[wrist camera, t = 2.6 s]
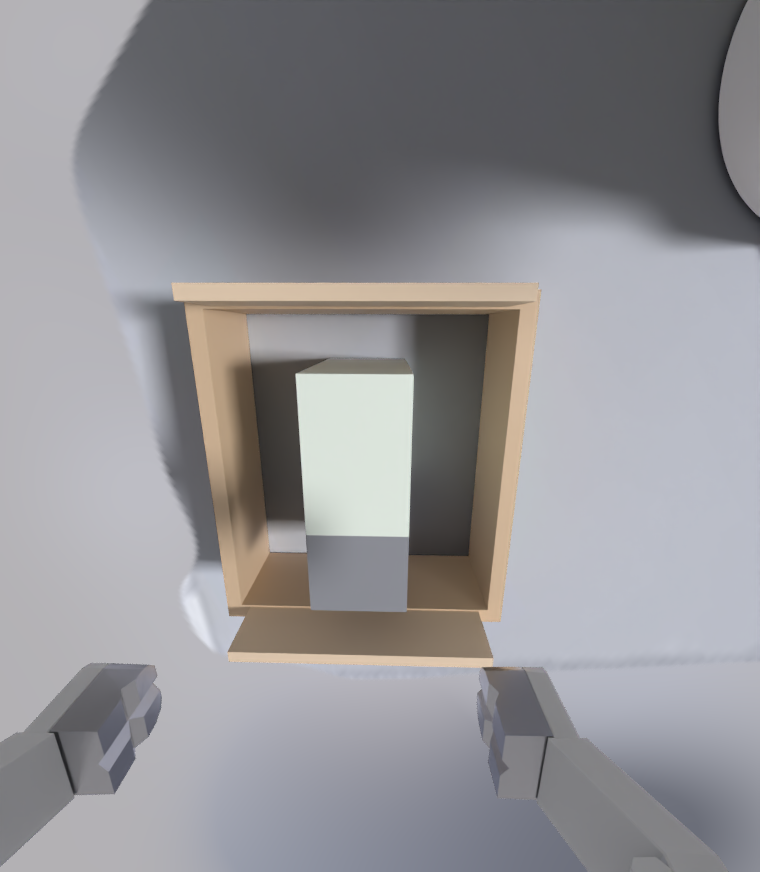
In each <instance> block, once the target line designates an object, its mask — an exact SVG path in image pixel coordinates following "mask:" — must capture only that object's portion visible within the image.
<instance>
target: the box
mask: <svg viewBox="0 0 760 872" xmlns="http://www.w3.org/2000/svg"><path fill="white" fill-rule="evenodd" d="M413 386H414V374H413V372H412V370H411V369H410V367H409V365H408V363H407V362H406V360H405V359H360V358H329V359H327V360H325V361H323V362H320V363H318V364H316V365H314V366H312V367H309V368H307V369H305V370H303V371H301V372H298V373H296V389H297V404H298V420H299V436H300V451H301V467H302V482H303V498H304V513H305V529H306V545H307V560H308V576H309V591H310V607H311V610H328V611H375V612H407V585H408V552H409V519H410V485H411V452H412V419H413Z"/></svg>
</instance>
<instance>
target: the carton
mask: <svg viewBox="0 0 760 872" xmlns="http://www.w3.org/2000/svg"><path fill="white" fill-rule="evenodd" d="M171 284H172V290H173V297H174V301H180V302H184V306H185V313H186V320H187V327H188V334H189V341H190V347H191V354H192V361H193V368H194V375H195V382H196V389H197V396H198V403H199V410H200V417H201V423H202V430H203V437H204V444H205V451H206V458H207V465H208V472H209V479H210V486H211V493H212V499H213V506H214V513H215V520H216V527H217V534H218V541H219V548H220V555H221V562H222V568H223V575H224V582H225V589H226V596H227V603H228V610H229V616H245V618H244V620H243V622H242V624H241V626H240V628H239V630H238V632H237V634H236V636H235V638H234V640H233V642H232V644H231V646H230V648H229V650H228V658H229V662H267V663H308V664H349V665H391V666H432V667H473V668H481V667H492V666H493V655H492V652H491V649H490V646H489V643H488V640H487V637H486V633H485V630H484V627H483V624H482V621H484V622H500V621H501V613H502V604H503V596H504V588H505V580H506V572H507V564H508V556H509V548H510V540H511V531H512V523H513V515H514V507H515V499H516V491H517V483H518V475H519V467H520V458H521V450H522V442H523V434H524V426H525V418H526V410H527V402H528V394H529V385H530V377H531V369H532V361H533V353H534V345H535V337H536V329H537V321H538V312H539V304H540V296H541V290H538V286H539V283H171ZM246 314H489V322H488V334H487V345H486V357H485V369H484V380H483V392H482V404H481V415H480V427H479V438H478V450H477V462H476V473H475V485H474V497H473V508H472V520H471V532H470V543H469V555H468V556H436V555H408V585H407V612H375V611H328V610H311V607H310V591H309V576H308V560H307V553H270V550H269V540H268V530H267V520H266V510H265V499H264V489H263V479H262V469H261V459H260V449H259V439H258V429H257V418H256V408H255V398H254V388H253V378H252V368H251V358H250V348H249V337H248V327H247V317H246Z"/></svg>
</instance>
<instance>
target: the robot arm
mask: <svg viewBox="0 0 760 872" xmlns="http://www.w3.org/2000/svg"><path fill="white" fill-rule="evenodd" d="M719 134H720V142H721V148H722V153H723V157H724V161H725V164H726V167H727V170H728V173H729V175H730V178H731V180H732V182H733V184H734V186H735V188H736V190H737V191H738V193H739V194H740V196H741V197H742V199H743V200H744V201H745V203H746V204H747V205H748V206H749V207H750V209H751V210H752V211H753V212H754V213H756V214H757V215H758V216H759V217H760V0H748V1H747V3H746V5H745V7H744V9H743V12H742V14H741V16H740V19H739V21H738V23H737V26H736V29H735V32H734V34H733V37H732V40H731V43H730V46H729V50H728V53H727V57H726V61H725V65H724V70H723V75H722V80H721V88H720V96H719ZM156 677H157V673H156V669H155V666H154V665H140V664H115V663H111V664H109V663H107V664H106V663H90V664H88V665H87V666H85V667H83V668H82V669H81V670H80V671H79V672H78V673H77V674H76V676H75V677H74V678H73V679H72V680H71V681H70V682H69V683H68V684H67V685H66V686H65V687H64V689H63V690H62V691H61V692H60V693H59V694H58V695H57V696H56V697H55V699H53V700H52V702H51V703H50V704H49V705H48V706H47V707H46V708H45V709H44V710H43V711H42V712H41V713H40V715H39V716H38V717H37V718H36V719H35V720H34V721H33V722H32V723H31V724H30V725H29V727H28V728H27V729H26V730H25V731H24V732H22V733H15V734H13V735H12V736H10V737H8V738H7V739H5V740H4V741H2V742H0V867H1V866H2V865H3V864H4V863H5V862H6V861H7V860H8V859H9V858H10V857H11V856H12V855H14V854H15V853H16V852H17V851H18V850H19V849H20V848H21V847H22V846H23V845H24V844H25V843H26V842H28V841H29V840H30V839H31V838H32V837H33V836H34V835H35V834H36V833H37V832H38V831H39V830H40V829H41V828H43V827H44V826H45V825H46V824H47V823H48V822H49V821H50V820H51V819H52V818H53V817H54V816H55V815H57V814H58V813H59V812H60V811H61V810H62V809H63V808H64V807H65V806H66V805H67V804H68V803H69V802H71V800H73V799H74V795H94V794H95V795H97V794H115V792H116V791H117V789H118V787H119V786H120V784H121V782H122V781H123V779H124V777H125V776H126V774H127V772H128V770H129V769H130V767H131V765H132V764H133V762H134V760H135V748H136V747H137V746H138V745H139V744H140V743H141V742H143V741H144V740H145V739H146V738H148V737H149V735H150V733H151V731H152V729H153V728H154V726H155V724H156V722H157V719H158V716H159V713H160V710H161V701H162V696H161V691H160V689H159V688H157V686H155V685H154V684H153V682H154V681H155V679H156ZM479 681H480V684H481V688H482V689H481V690H480V691H479V692H478V694H477V714H478V721H479V727H480V732H481V736H482V740H483V741H484V743H485V744H486V745H487V746H488V747H489V748H490V749H489V759H488V764H489V768H490V772H491V775H492V780H493V783H494V787H495V791H496V795H497V798H506V799H527V800H537V804H538V805H539V806H540V808H541V809H542V810H543V812H544V813H545V814H546V815H547V817H548V818H549V820H550V821H551V822H552V824H553V825H554V826H555V828H556V829H557V830H558V832H559V833H560V834H561V836H562V837H563V838H564V840H565V841H566V842H567V844H568V845H569V846H570V848H571V849H572V851H573V852H574V853H575V855H576V856H577V857H578V858H579V860H580V861H581V862H582V864H583V865H584V867H585V868H586V869H587V871H588V872H728V870H727V869H726V867H725V866H724V864H723V863H722V861H721V860H720V858H719V857H718V855H717V854H715V853H714V852H713V851H712V850H711V849H710V848H709V847H708V846H707V845H706V844H704V843H703V842H702V841H701V840H700V839H699V838H698V837H697V836H695V835H694V834H693V833H692V832H691V831H690V830H689V829H688V828H687V827H685V826H684V825H683V824H682V823H681V822H680V821H679V820H678V819H676V818H675V817H674V816H673V815H672V814H671V813H670V812H669V811H667V810H666V809H665V808H664V807H663V806H662V805H661V804H660V803H658V802H657V801H656V800H655V799H654V798H653V797H652V796H651V795H649V794H648V793H647V792H646V791H645V790H644V789H643V788H642V787H641V786H640V785H638V784H637V783H636V782H635V781H634V780H633V779H632V778H630V777H629V776H628V775H627V774H626V773H625V772H624V771H623V770H622V769H621V768H619V767H618V766H617V765H616V764H615V763H614V762H613V761H611V759H609V758H608V757H607V756H606V755H605V754H604V753H603V752H602V751H600V750H599V749H598V748H597V747H596V746H595V745H594V744H593V743H592V742H590V741H589V740H588V739H587V738H580V737H579V735H578V733H577V731H576V729H575V727H574V725H573V723H572V721H571V719H570V717H569V715H568V713H567V711H566V709H565V707H564V705H563V703H562V701H561V699H560V697H559V695H558V693H557V691H556V689H555V687H554V685H553V683H552V681H551V679H550V677H549V675H548V673H547V671H546V670H545V669H544V668H543V667H522V668H521V667H481V670H480V674H479Z"/></svg>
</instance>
